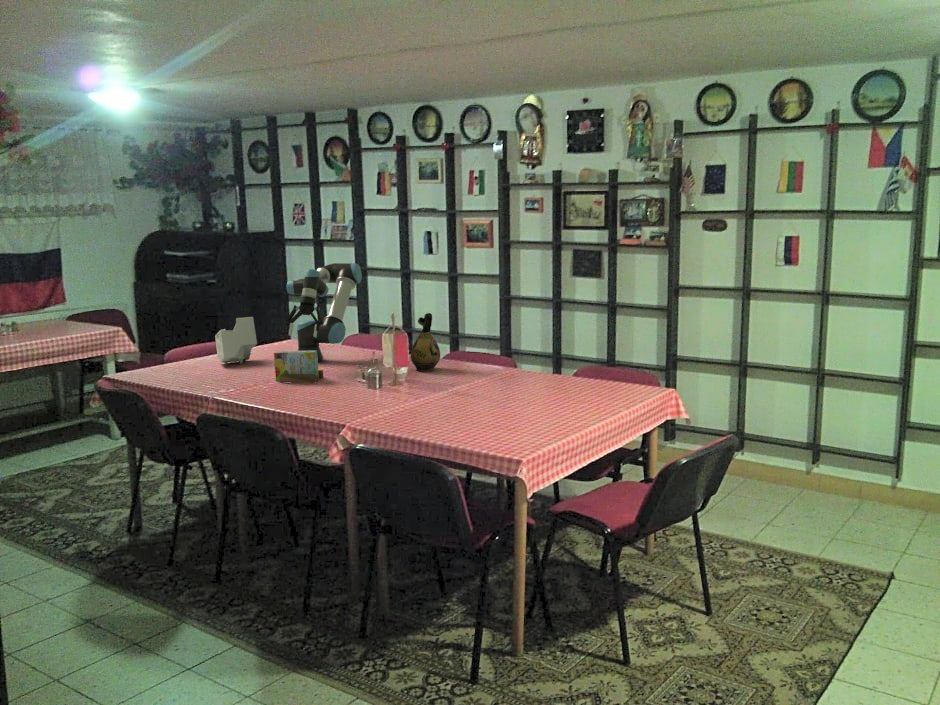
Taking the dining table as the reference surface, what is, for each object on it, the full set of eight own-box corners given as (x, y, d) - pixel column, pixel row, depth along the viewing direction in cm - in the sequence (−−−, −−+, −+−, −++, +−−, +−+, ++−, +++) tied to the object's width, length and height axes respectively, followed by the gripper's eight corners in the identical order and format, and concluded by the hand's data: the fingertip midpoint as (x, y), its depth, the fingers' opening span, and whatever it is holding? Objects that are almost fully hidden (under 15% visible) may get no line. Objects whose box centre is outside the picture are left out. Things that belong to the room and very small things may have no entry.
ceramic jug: (433, 373, 433) (431, 316, 428) (406, 372, 439) (404, 315, 433) (446, 367, 448) (444, 311, 443) (420, 365, 454) (418, 310, 449)
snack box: (319, 379, 428) (317, 350, 425) (316, 381, 423) (314, 352, 420) (278, 379, 430) (276, 350, 427) (275, 381, 425) (273, 352, 422)
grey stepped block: (222, 363, 462) (216, 319, 465) (217, 369, 476) (211, 326, 479) (259, 360, 471) (253, 316, 474) (253, 365, 485) (246, 323, 488)
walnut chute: (290, 377, 434) (289, 369, 433) (323, 377, 431) (323, 370, 430) (280, 382, 421) (279, 375, 421) (314, 383, 418) (314, 375, 417)
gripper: (283, 294, 443) (277, 332, 437) (328, 296, 439) (323, 335, 433) (288, 299, 450) (282, 337, 445) (333, 301, 446) (327, 339, 441)
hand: (302, 336), depth 439 cm, fingers open, 13 cm apart
